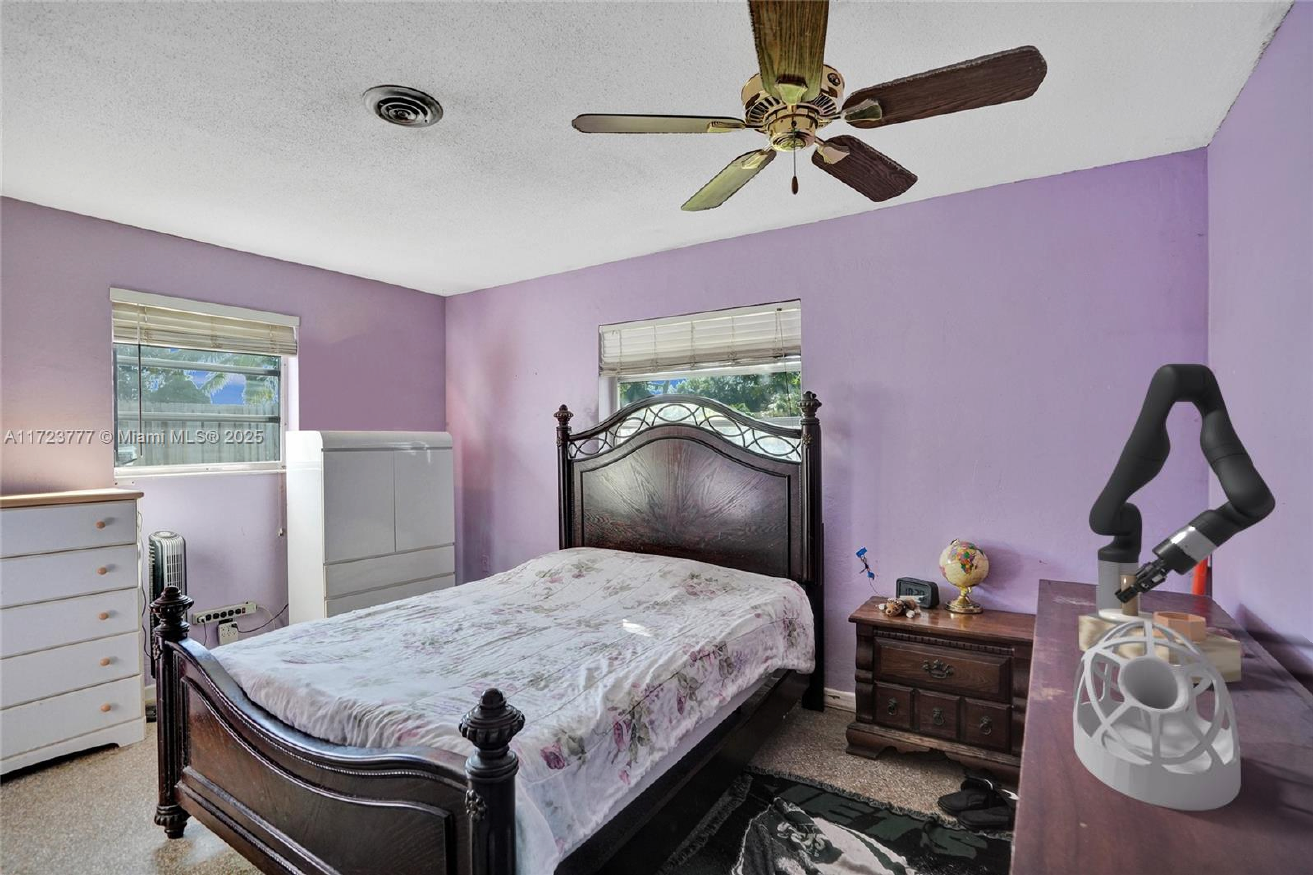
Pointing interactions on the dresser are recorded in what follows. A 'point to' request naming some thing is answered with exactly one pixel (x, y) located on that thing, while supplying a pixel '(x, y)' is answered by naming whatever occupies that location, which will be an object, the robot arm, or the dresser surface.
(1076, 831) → the dresser surface
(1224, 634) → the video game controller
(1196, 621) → the bowl
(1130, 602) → the lid
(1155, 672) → the lampshade
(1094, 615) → the mat
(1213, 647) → the riser
